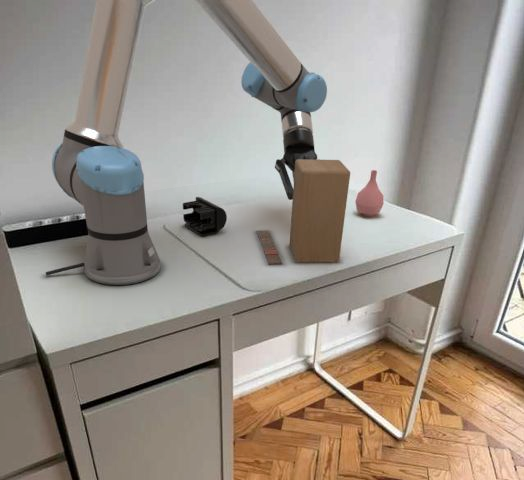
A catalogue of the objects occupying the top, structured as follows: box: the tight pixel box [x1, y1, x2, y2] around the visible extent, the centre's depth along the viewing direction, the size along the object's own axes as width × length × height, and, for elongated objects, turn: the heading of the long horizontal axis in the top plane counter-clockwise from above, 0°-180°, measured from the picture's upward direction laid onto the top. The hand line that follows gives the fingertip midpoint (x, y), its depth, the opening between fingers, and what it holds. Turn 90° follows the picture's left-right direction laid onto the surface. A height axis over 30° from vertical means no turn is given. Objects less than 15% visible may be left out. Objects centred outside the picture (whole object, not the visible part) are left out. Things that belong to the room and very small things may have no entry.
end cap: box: [182, 196, 228, 238], centre depth 125 cm, size 10×7×7 cm
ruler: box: [256, 230, 283, 266], centre depth 118 cm, size 20×3×1 cm, turn 8°
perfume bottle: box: [355, 169, 384, 217], centre depth 137 cm, size 8×8×12 cm
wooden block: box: [289, 159, 351, 263], centre depth 110 cm, size 10×10×20 cm
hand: (306, 225), depth 120 cm, fingers closed
